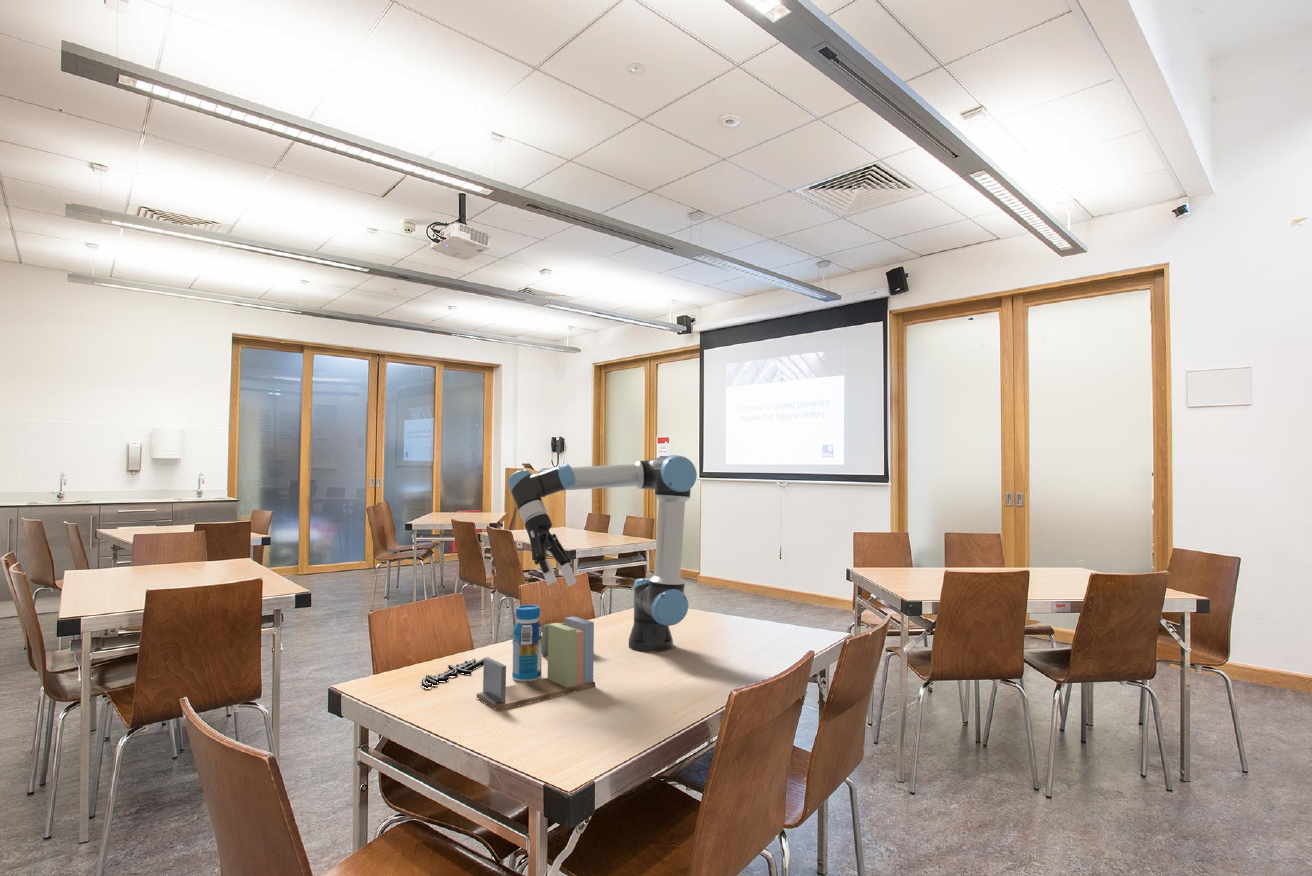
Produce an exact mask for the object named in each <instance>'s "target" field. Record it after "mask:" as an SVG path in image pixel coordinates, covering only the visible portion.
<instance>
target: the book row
mask: <svg viewBox="0 0 1312 876" xmlns="http://www.w3.org/2000/svg"><path fill="white" fill-rule="evenodd" d="M559 623H560V622H553V623H547V624H548V655H547V678H548V679H549V680H551V681H553V682H555V683H558V684H560V685H562V686H564V687H566V688H568V687H572V686H576V685H580V684H585V683H589V682H594V662H595V661H594V658H595V657H594V655H595V654H594V653H595V652H594V651H595V650H594V646H595V645H594V643H595V642H594V641H595V639H594V638H595V631H594V630H595V623H594V621H591V620H588V619H584V618H580V617H577V616H567V617H565V618H564V623H565V625H562V624H559Z"/></svg>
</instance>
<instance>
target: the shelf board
mask: <svg viewBox="0 0 1312 876" xmlns="http://www.w3.org/2000/svg"><path fill="white" fill-rule="evenodd" d="M595 687H596V682H595V681H593V682H589V683H585V684H580V685H576V686H572V687H568V688H566V687H564V686H562V685H560V684H558V683H555V682H553V681H551V680H549V679H548V677H544V678H539V679H537V680H534V681H529V682H523V683H517V684H514V685H510V686H506V697H505V703H502V704H500V703H499V704H494V703H492V702H490V701H488V700H487V699H485V698H483V697H482V696H480V695H479V693H482V692H483V691H482V692H477V693H476V697H477V698H479V699H480V700H482V701H483V702H485V703H487V704H488V705H490V706H491V707H490V706H489V707H490V708H492V707H493V708H492V709H494V708H495V709H496V710H495V709H494V710H495V711H497V710H500V711H504V710H507V709H506V708H508V709H511V707H512V708H516V707H519V706H518V705H520V706H524V705H528V704H530V703H529V702H532V703H536V702H539V701H538V700H540V701H544V700H548V699H551V698H550V697H552V698H556V697H560V696H559V695H561V696H563V695H562V694H565V695H568V693H569V694H572V693H571V692H573V693H575V692H574V691H577V692H580V691H584V690H588V689H589V690H590V689H592V688H595ZM477 698H476V699H477ZM547 698H548V699H547ZM480 700H479V701H480ZM482 701H481V702H482ZM535 701H536V702H535ZM483 702H482V703H483ZM485 703H484V704H485ZM527 703H528V704H527ZM487 704H486V705H487ZM515 706H516V707H515ZM503 709H504V710H503Z"/></svg>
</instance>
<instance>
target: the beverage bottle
mask: <svg viewBox="0 0 1312 876" xmlns="http://www.w3.org/2000/svg"><path fill="white" fill-rule="evenodd" d="M540 616H541V607H540V606H539V605H535V604H525V605H519V606H517V607H516V609H515V618H516V619H515V620H517V622H516V623H515V625H514V627H513V630H512V633H513V637H512V676H511V677H512V679H513V680H514V681H517V682H521V681H529V682H530V681H535V680H539V679H541V677H542V660H543V659H542V656H543V655H542V630H543V626H542V625H541V623H540V621H539V619H540Z"/></svg>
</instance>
